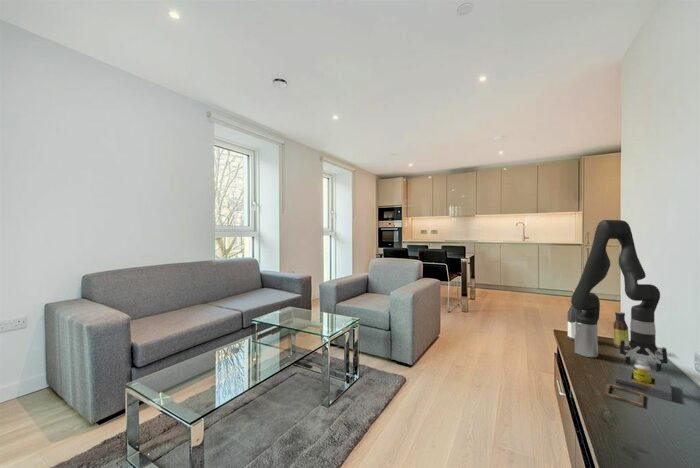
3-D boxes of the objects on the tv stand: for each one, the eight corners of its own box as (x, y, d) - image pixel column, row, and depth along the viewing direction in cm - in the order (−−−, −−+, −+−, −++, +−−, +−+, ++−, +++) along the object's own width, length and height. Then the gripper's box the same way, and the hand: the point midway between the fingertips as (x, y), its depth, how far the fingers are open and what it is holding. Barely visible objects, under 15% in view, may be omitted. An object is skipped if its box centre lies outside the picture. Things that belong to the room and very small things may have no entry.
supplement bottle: (630, 380, 125) (629, 357, 126) (640, 379, 126) (639, 356, 126) (644, 386, 120) (644, 362, 120) (655, 385, 121) (654, 361, 121)
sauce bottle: (631, 350, 159) (631, 314, 159) (618, 349, 160) (618, 314, 160) (623, 345, 165) (622, 311, 165) (610, 344, 166) (610, 310, 166)
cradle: (604, 395, 116) (604, 393, 116) (607, 385, 123) (607, 383, 123) (642, 407, 108) (642, 404, 108) (643, 395, 115) (643, 393, 115)
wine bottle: (581, 338, 177) (581, 289, 177) (586, 342, 170) (585, 292, 170) (566, 336, 181) (565, 289, 180) (569, 340, 173) (569, 291, 173)
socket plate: (615, 385, 123) (615, 378, 123) (619, 372, 134) (619, 365, 134) (671, 401, 111) (671, 393, 111) (670, 385, 122) (670, 378, 122)
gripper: (667, 332, 120) (667, 370, 120) (620, 324, 130) (620, 360, 130) (667, 337, 115) (667, 377, 115) (619, 328, 125) (619, 365, 125)
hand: (642, 368), depth 123 cm, fingers open, 8 cm apart
